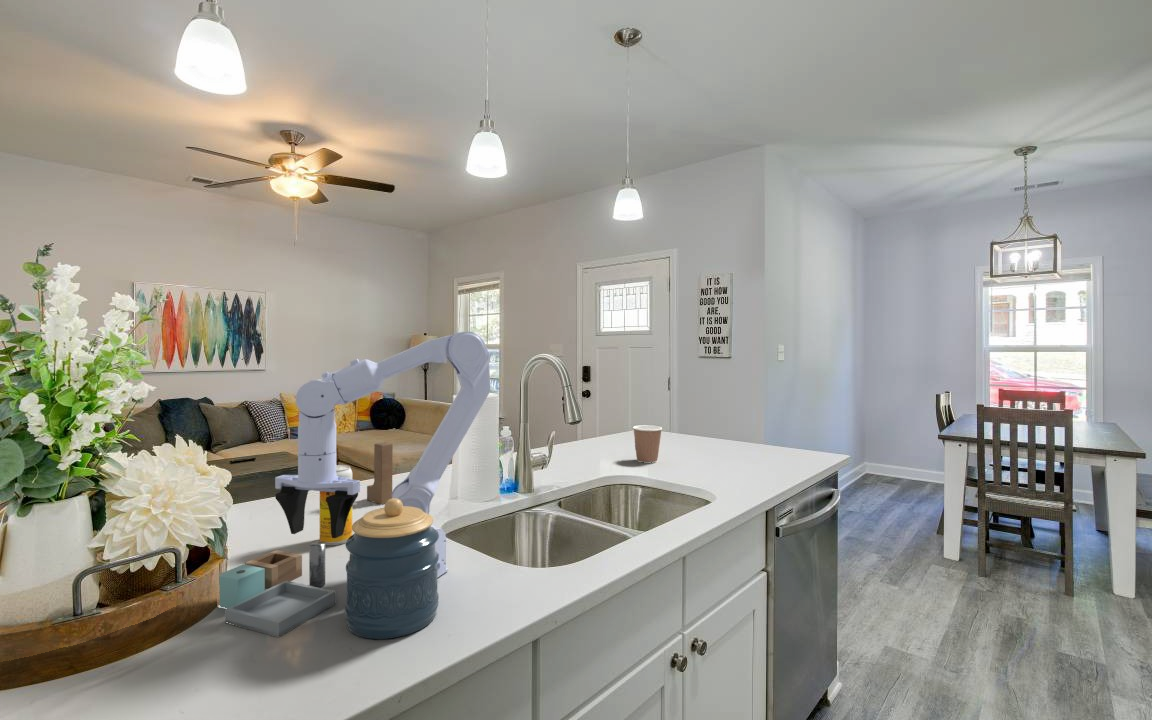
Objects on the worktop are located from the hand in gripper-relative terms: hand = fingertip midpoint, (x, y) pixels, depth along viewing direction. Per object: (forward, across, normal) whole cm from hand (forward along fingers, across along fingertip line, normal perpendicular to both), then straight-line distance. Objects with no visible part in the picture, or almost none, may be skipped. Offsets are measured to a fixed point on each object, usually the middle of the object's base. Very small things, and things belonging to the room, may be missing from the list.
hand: (317, 534), depth 89 cm
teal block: (+9, +7, +8) cm, 14 cm away
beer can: (+9, +10, -19) cm, 23 cm away
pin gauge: (+9, 0, 0) cm, 9 cm away
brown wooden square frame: (+9, +8, 0) cm, 12 cm away
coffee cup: (+9, -46, -113) cm, 122 cm away
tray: (+9, -1, +9) cm, 13 cm away
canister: (+9, -18, +6) cm, 21 cm away
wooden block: (+9, +17, -46) cm, 50 cm away
